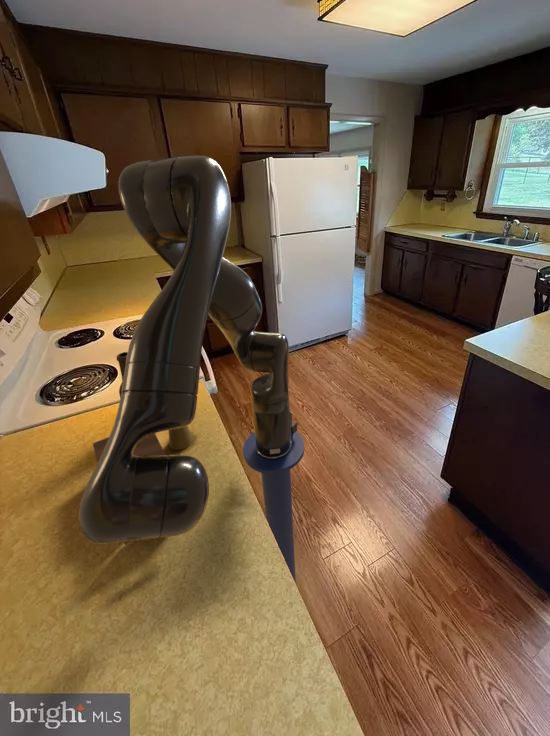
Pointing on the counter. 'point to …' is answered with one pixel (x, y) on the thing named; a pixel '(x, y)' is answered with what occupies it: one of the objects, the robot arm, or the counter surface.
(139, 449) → the cabinet
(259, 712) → the counter surface
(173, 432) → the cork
